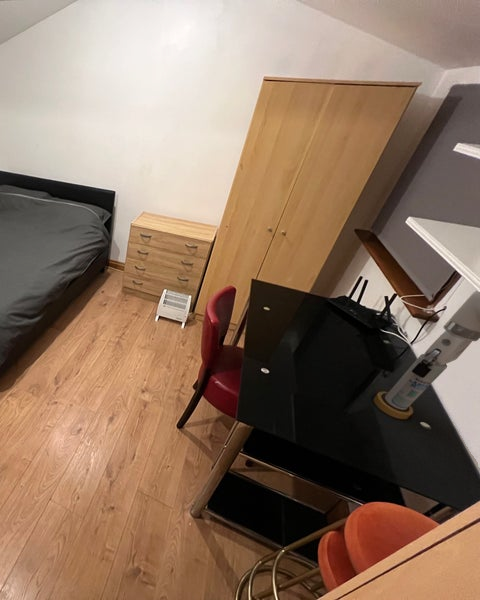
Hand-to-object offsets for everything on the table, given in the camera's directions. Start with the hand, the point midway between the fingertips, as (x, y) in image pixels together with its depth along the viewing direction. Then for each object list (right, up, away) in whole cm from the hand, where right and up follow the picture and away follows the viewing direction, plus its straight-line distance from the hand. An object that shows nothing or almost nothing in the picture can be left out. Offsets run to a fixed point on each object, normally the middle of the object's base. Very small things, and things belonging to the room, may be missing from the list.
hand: (423, 371), depth 105 cm
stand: (-1, -15, +10) cm, 18 cm away
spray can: (-1, -13, +8) cm, 15 cm away
